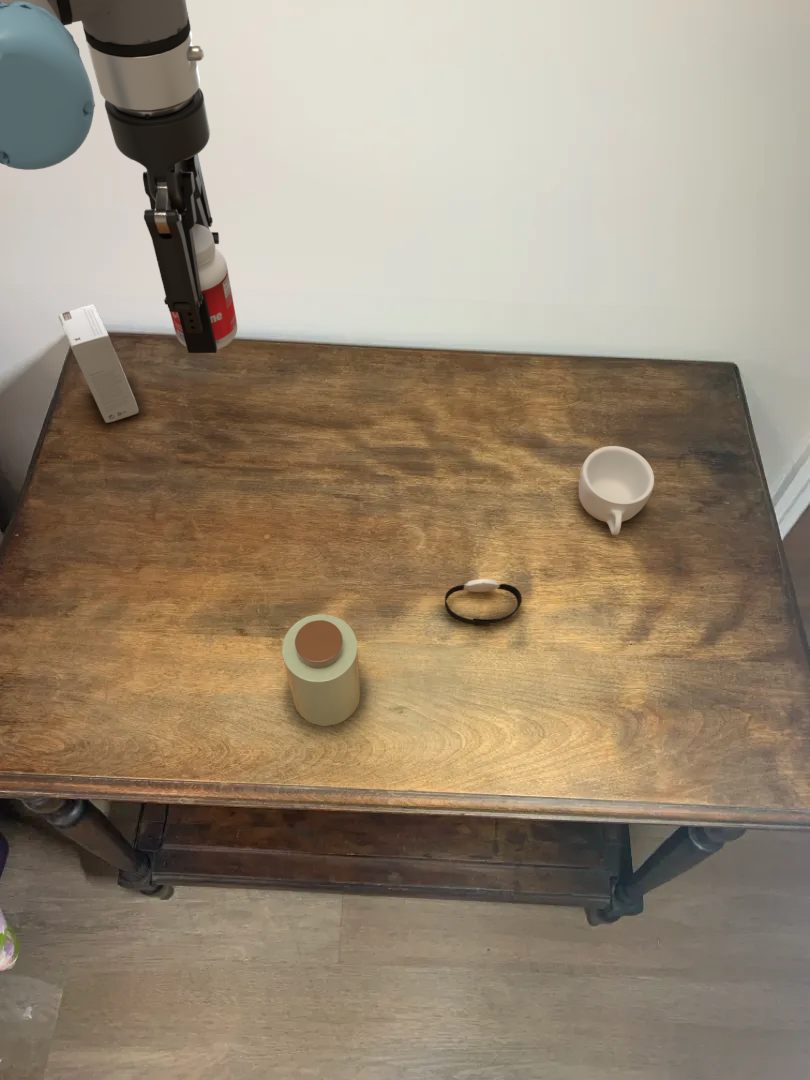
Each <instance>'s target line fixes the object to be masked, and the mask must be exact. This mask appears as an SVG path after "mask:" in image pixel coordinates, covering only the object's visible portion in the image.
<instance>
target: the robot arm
mask: <svg viewBox="0 0 810 1080" xmlns="http://www.w3.org/2000/svg"><path fill="white" fill-rule="evenodd" d="M77 22H78V23H79V22H81V24H82V29H83V33H84V36H85V41H86V45H87V49H88V53H89V56H90V60H91V64H92V67H93V71H94V75H95V78H96V82H97V85H98V90H99V93H100V95H101V96H102V97H103V99H104V109H105V111H106V114H107V119H108V122H109V126H110V130H111V133H112V136H113V141H114V143H115V146H116V148H117V149H118V150H119V152H120V153H121V154H122V155H123V156H124V157H126V158H127V159H129V160H131V161H134V162H136V163H138V164H139V165H141V166H143V167H144V168H145V169H146V171H143V172H142V181H143V187H144V192H145V194H146V196H147V197H148V199H149V205H150V209H149V208H147V209H144V212H143V220H144V222H145V225H146V228H147V230H148V232H149V233H148V234H149V235H150V237H151V241H152V242H151V243H152V247H153V250H154V254H155V258H156V261H157V267H158V270H159V275H160V279H161V283H162V286H163V290H164V295H165V297H164V299H163V302H164V305H167V308H168V312H169V313H170V312H178V315H179V319H180V323H181V327H182V331H183V335H184V338H185V342H186V346H187V347H186V346H185V347H186V349H187V353H188V354H217V346H216V341H215V337H214V332H213V327H212V323H211V318H210V314H209V309H208V305H207V300H206V296H205V294H202V293H201V286H200V280H199V273H198V266H197V259H196V252H195V245H194V238H193V231H192V227H193V226H194V224H199V225H202V226H204V227H206V228H208V229H209V230H210V228H211V227H212V226H213V217H212V213H211V209H210V204H209V200H208V194H207V190H206V186H205V181H204V175H203V172H202V171H203V170H202V167H201V162H200V157H199V153H200V152H202V151H203V150H204V149H205V148H206V146H207V145H208V143H209V141H210V135H211V129H210V125H209V117H208V114H207V109H206V107H207V106H206V102H205V97H204V92H203V91H202V89H201V88H200V85H201V79H200V73H199V66H198V62H201V61H202V60H203V59H204V57H205V54H204V50H203V48H202V47H201V46H200V45H193V42H192V40H193V34H192V30H191V22H190V16H189V12H188V7H187V0H0V164H1V165H4V166H6V167H8V168H12V169H17V170H24V171H25V170H26V171H30V170H34V171H35V170H36V171H37V170H42V169H48V168H50V167H53V166H55V165H58V164H61V163H62V162H63V161H65V160H67V159H68V158H70V157H71V156H72V155H74V154H76V152H77V151H78V150H79V149H80V148H81V147H82V145H83V144H84V142H85V141H86V139H87V137H88V136H89V133H90V130H91V127H92V123H93V119H94V112H95V106H96V102H95V99H94V98H95V97H94V92H93V87H92V84H91V81H90V77H89V75H88V72H87V70H86V67H85V65H84V63H83V60H82V57H81V54H80V48H79V47H78V45H77V43H76V41H75V38H74V36H73V35H72V33H71V32H70V31H69V30H68V29H67V27H66V26H69V25H72V24H73V23H77ZM211 233H212V235H213V239H214V243H215V245H219V244H220V235H219V232H218V231H211Z"/></svg>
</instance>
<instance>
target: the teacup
mask: <svg viewBox="0 0 810 1080" xmlns="http://www.w3.org/2000/svg"><path fill="white" fill-rule="evenodd" d="M579 473H580V474H579V479H578V498H579V501H580V504H581V506H582V507H583V508H584V510H585V512H587V513H588V514H589V515H590V516H591V517H593V518H595V519H596V520H598V521H601V522H604V523H606V524H607V525H608V529H609V530H610V534H611V535H613V536H618V535H619V534H620V532H621V527H622V522H625V521H628V520H630V519H632V518H633V517H635V516H636V515H637V514H638V513H639V512H640V511H641V510H642V509H643V508H644V507H645V505H646V504H647V502H648V501H649V499H650V497H651V494H652V493H653V490H654V488H655V487H654V486H655V475H654V471H653V468H652V467H651V465H650V464H649V462H648V461H647V460H646V459H645V457H643V456H642V455H641V454H639V453H638V452H636V451H634V449H633V450H632V449H631V448H627V447H623V446H620V445H619V446H618V445H608V446H603V447H600V448H597V449H596V450H594V451H592V452H591V453H590V454H589V455H588V456H587V457H586V459H585V460H584V462H583V464H582V466H581V469H580V472H579Z"/></svg>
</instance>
